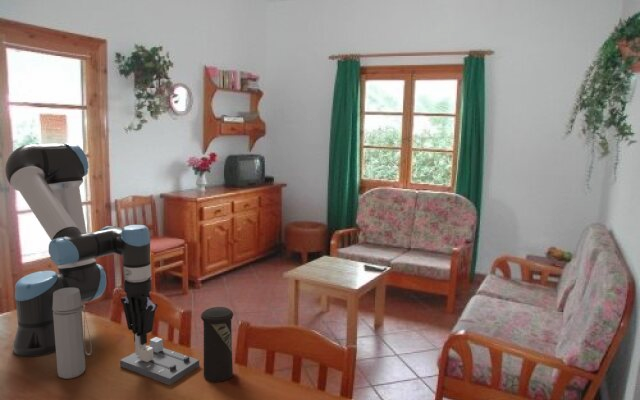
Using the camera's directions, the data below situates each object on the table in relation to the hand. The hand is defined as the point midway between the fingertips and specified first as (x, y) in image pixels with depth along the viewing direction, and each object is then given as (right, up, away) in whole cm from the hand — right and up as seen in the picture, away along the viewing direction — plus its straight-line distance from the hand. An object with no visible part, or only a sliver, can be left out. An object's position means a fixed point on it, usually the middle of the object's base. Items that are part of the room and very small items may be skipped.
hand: (141, 353), depth 143 cm
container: (+24, -5, -4) cm, 25 cm away
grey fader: (+3, -1, +5) cm, 6 cm away
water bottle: (-17, -4, -5) cm, 18 cm away
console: (+6, -4, 0) cm, 7 cm away
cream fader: (+2, -2, -1) cm, 3 cm away
